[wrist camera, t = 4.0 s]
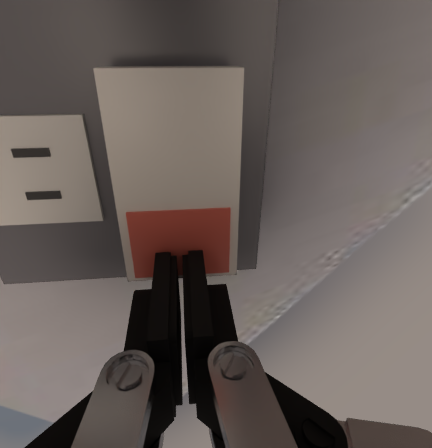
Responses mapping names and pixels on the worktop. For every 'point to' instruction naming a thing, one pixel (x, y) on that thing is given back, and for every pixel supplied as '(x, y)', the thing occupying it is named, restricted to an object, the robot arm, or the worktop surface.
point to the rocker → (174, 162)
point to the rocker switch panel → (92, 123)
